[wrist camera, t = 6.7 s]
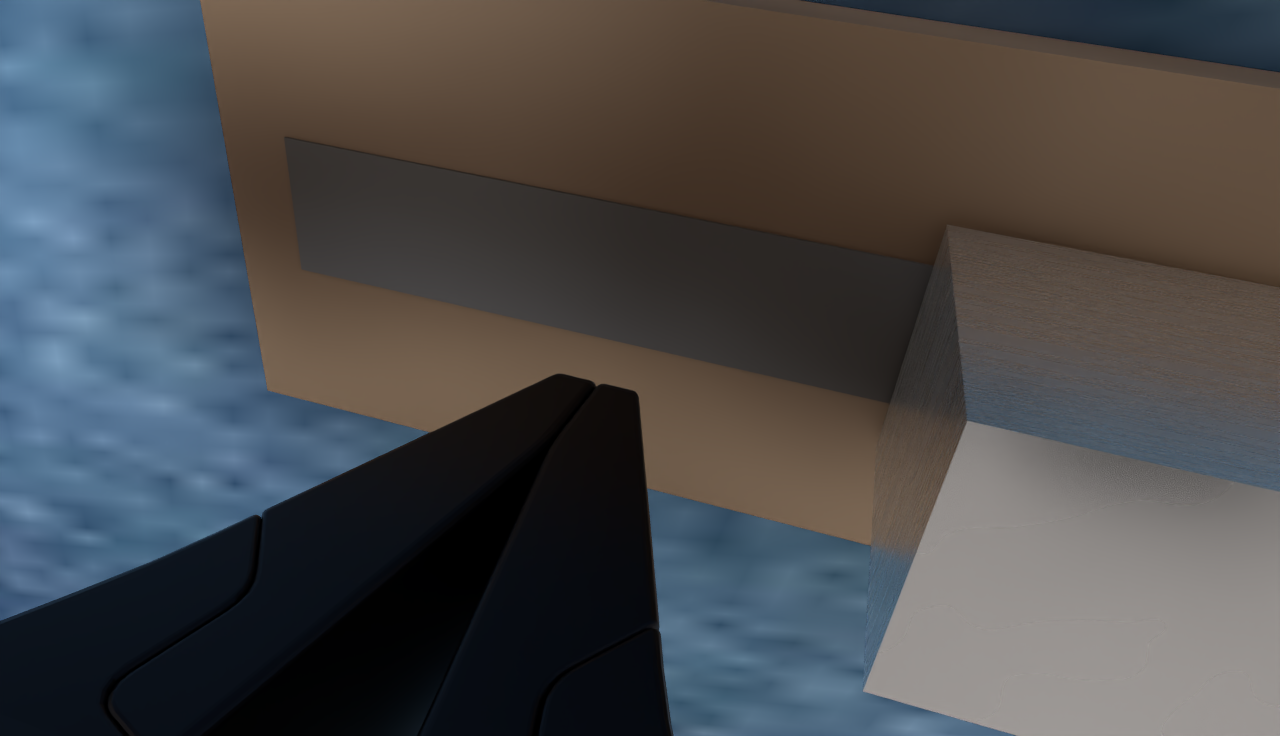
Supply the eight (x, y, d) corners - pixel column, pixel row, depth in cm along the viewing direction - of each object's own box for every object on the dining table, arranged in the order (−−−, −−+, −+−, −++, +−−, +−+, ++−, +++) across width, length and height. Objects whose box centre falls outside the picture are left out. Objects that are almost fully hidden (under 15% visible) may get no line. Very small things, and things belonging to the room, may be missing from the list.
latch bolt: (1283, 543, 10) (1456, 862, 7) (876, 446, 11) (862, 691, 8) (1443, 319, 9) (1769, 604, 5) (946, 224, 10) (966, 420, 6)
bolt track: (1364, 624, 12) (1398, 683, 11) (303, 360, 15) (265, 391, 14) (1766, 146, 8) (1865, 180, 7) (239, -84, 11) (184, -79, 10)
